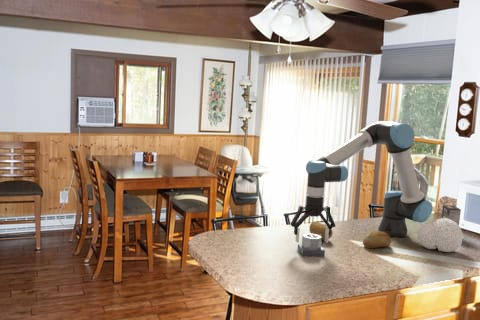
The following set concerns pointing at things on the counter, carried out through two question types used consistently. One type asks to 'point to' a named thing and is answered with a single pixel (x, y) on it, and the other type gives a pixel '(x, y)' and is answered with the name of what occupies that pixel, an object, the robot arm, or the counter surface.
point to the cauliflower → (441, 235)
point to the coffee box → (451, 213)
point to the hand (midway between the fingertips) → (311, 241)
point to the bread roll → (376, 239)
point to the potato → (319, 229)
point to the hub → (311, 242)
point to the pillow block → (311, 253)
